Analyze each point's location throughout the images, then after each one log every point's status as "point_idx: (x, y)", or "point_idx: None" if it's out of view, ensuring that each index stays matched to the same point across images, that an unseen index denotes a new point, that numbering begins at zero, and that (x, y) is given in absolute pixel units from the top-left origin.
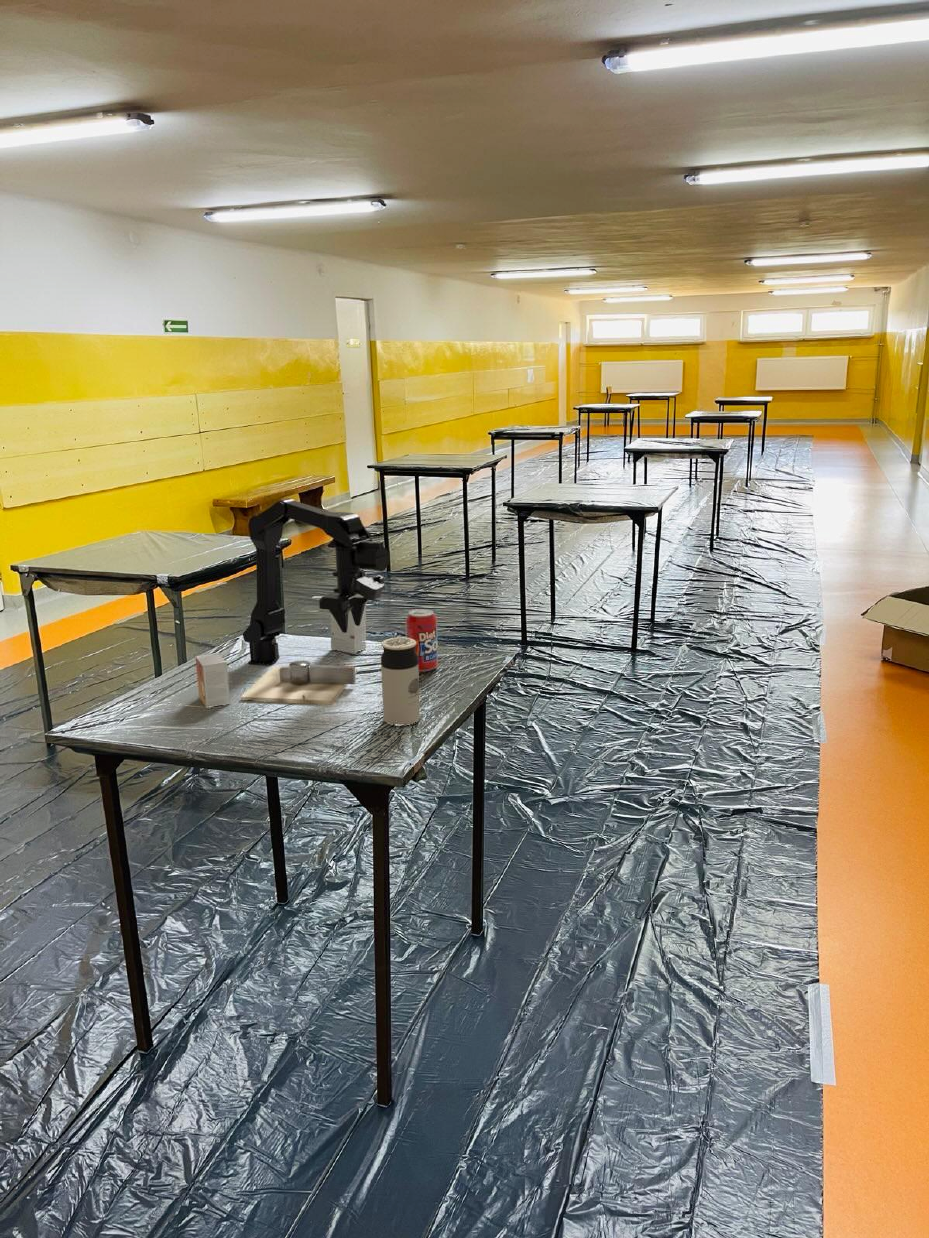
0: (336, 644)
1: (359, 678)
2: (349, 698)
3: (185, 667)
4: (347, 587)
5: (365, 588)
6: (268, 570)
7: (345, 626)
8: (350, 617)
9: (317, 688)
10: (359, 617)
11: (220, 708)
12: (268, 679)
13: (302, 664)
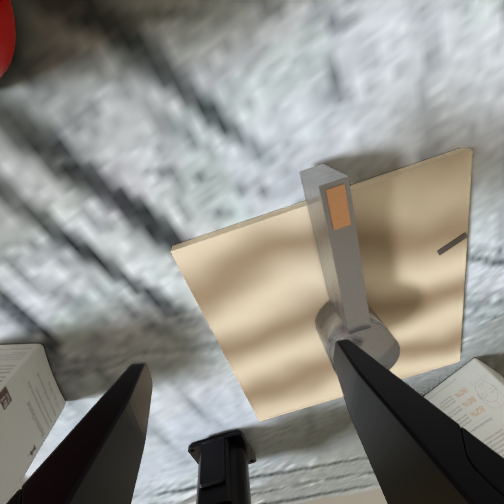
0: (49, 408)
1: (216, 206)
2: (398, 125)
3: (311, 499)
4: None
5: None
6: None
7: (395, 379)
8: None
9: (376, 253)
10: (115, 432)
11: (496, 357)
12: None
13: (370, 350)
